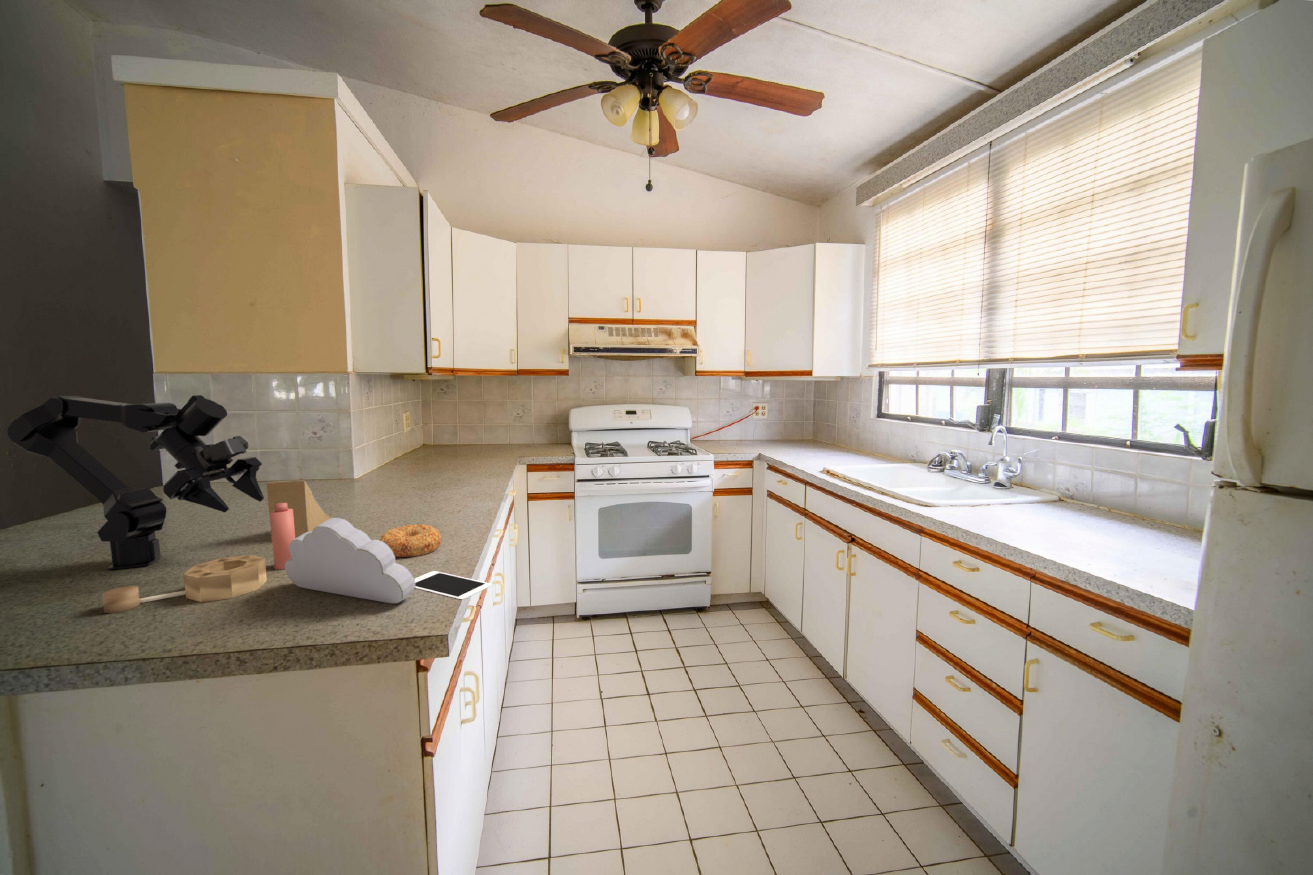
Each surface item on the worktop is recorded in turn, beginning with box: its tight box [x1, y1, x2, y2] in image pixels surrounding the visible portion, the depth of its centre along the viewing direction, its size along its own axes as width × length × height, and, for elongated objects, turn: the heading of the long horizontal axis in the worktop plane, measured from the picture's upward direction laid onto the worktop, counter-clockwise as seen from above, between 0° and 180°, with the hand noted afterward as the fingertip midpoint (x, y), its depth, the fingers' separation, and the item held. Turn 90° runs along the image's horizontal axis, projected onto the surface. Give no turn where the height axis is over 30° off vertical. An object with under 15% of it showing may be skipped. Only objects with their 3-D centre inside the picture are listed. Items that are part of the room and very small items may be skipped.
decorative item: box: [284, 517, 416, 604], centre depth 97 cm, size 28×10×15 cm, turn 71°
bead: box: [183, 554, 268, 603], centre depth 99 cm, size 11×11×4 cm
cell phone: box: [414, 570, 493, 601], centre depth 102 cm, size 8×16×1 cm, turn 64°
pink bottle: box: [269, 503, 295, 571], centre depth 111 cm, size 4×4×14 cm
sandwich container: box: [266, 480, 332, 538], centre depth 135 cm, size 9×15×15 cm, turn 10°
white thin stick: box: [139, 589, 186, 604], centre depth 95 cm, size 12×1×1 cm, turn 128°
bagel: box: [379, 523, 442, 558], centre depth 122 cm, size 13×14×5 cm
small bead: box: [101, 585, 141, 614], centre depth 91 cm, size 4×4×3 cm
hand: (245, 505), depth 110 cm, fingers open, 9 cm apart
